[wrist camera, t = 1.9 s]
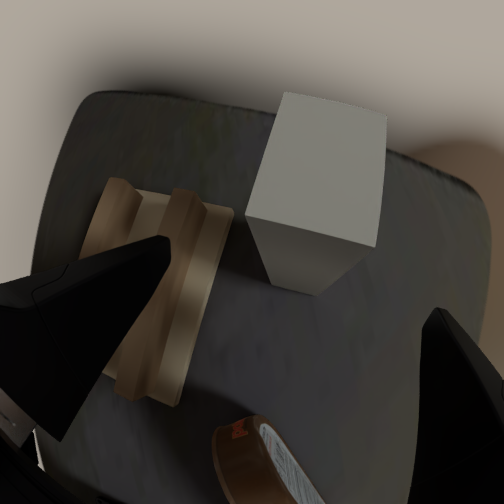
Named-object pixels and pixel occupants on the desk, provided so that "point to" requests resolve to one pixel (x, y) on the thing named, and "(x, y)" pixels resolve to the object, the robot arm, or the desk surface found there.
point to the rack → (161, 282)
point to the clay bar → (318, 191)
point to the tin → (259, 465)
